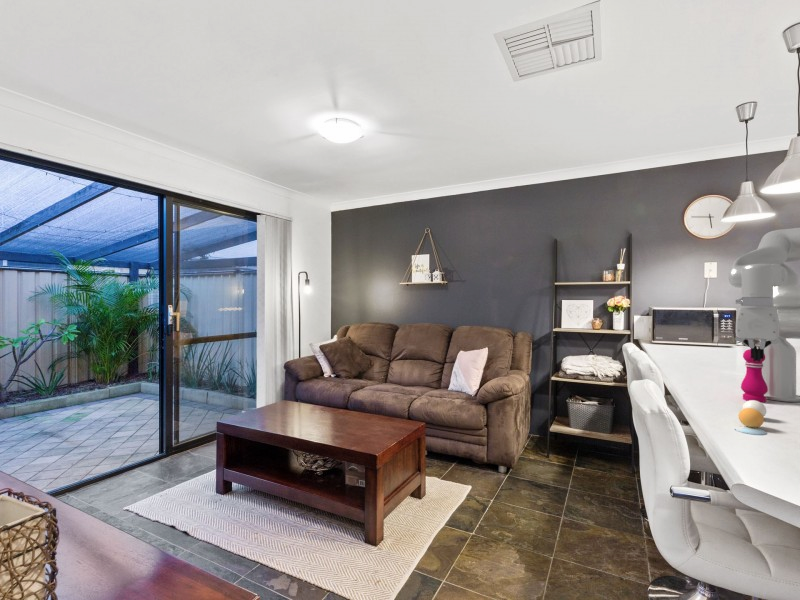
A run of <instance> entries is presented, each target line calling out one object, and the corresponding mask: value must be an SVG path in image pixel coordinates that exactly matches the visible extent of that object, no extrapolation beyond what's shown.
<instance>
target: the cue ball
mask: <svg viewBox="0 0 800 600" xmlns="http://www.w3.org/2000/svg"><path fill="white" fill-rule="evenodd" d="M745 408H753V409H756V410H758V411H759V412H760V413H761V414H762V415H763V417H764V418H765V416H766V414H767V408H766V406H765V405H764V404H763V402H759V401H755V400H750V401H747V400H746V402H744V403H743V404H742V410H743V409H745Z"/></svg>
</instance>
